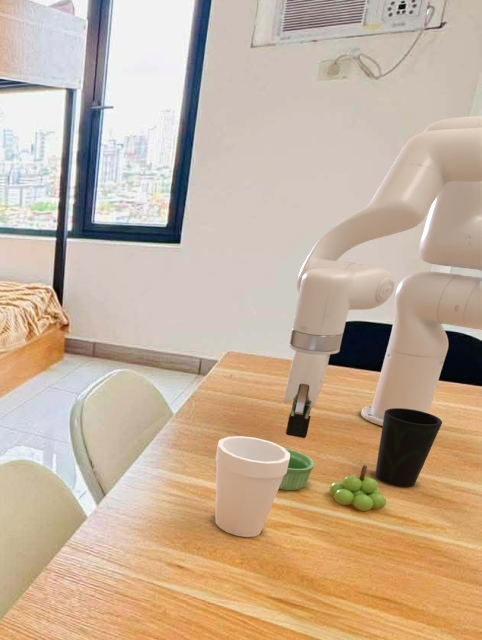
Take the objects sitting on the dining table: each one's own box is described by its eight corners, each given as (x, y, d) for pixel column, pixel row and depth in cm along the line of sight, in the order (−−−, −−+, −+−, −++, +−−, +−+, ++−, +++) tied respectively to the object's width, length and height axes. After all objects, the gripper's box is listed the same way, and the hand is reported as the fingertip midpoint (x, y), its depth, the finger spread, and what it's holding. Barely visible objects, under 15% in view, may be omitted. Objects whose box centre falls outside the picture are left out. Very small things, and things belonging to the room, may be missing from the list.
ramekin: (275, 464, 116) (280, 443, 114) (321, 486, 108) (327, 463, 106) (238, 473, 113) (242, 451, 111) (283, 496, 105) (288, 473, 103)
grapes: (323, 488, 107) (332, 453, 105) (371, 494, 105) (381, 458, 103) (338, 510, 100) (348, 473, 98) (389, 517, 98) (401, 479, 96)
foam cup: (266, 515, 99) (283, 440, 95) (279, 547, 91) (297, 467, 86) (201, 506, 102) (213, 433, 98) (207, 536, 94) (221, 458, 89)
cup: (432, 492, 105) (453, 426, 101) (381, 488, 107) (399, 423, 103) (407, 471, 112) (425, 409, 108) (359, 468, 114) (376, 406, 110)
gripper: (296, 327, 118) (279, 417, 124) (284, 348, 107) (266, 445, 113) (344, 333, 113) (324, 425, 120) (337, 354, 102) (315, 455, 109)
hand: (296, 434), depth 117 cm, fingers closed
